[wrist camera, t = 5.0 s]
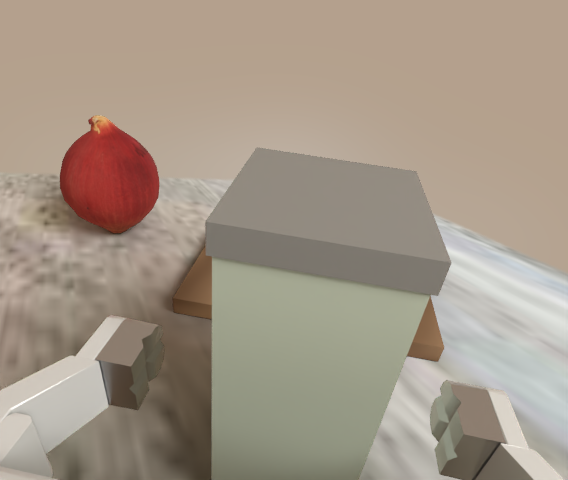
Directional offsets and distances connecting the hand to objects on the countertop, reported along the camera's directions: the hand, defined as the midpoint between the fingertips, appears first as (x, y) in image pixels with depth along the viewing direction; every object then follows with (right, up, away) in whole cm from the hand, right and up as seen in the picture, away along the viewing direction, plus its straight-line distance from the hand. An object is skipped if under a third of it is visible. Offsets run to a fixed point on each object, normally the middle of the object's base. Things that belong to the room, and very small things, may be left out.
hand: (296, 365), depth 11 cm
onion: (-12, +4, +16) cm, 20 cm away
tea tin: (0, -5, +4) cm, 6 cm away
